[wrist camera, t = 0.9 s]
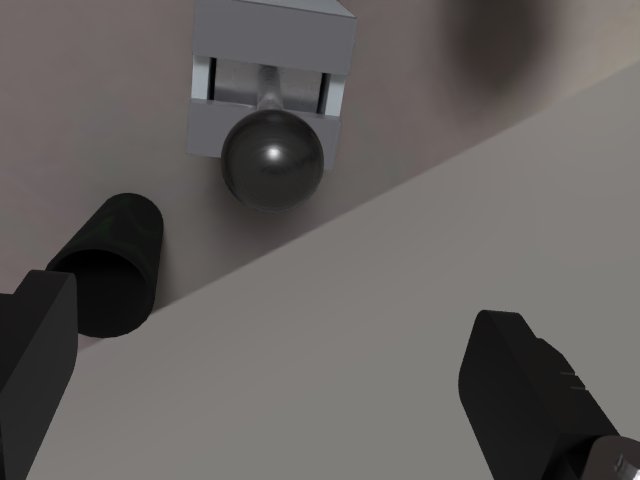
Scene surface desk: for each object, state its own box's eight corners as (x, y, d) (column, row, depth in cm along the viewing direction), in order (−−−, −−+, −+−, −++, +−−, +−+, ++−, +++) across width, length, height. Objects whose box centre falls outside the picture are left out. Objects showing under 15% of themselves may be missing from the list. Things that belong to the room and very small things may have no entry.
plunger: (326, 29, 34) (377, 102, 19) (311, 131, 36) (346, 266, 21) (221, 14, 33) (187, 77, 18) (213, 119, 36) (177, 250, 21)
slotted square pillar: (340, -21, 46) (381, 1, 30) (320, 109, 51) (347, 189, 35) (206, -43, 45) (175, -31, 29) (197, 93, 49) (166, 169, 33)
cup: (137, 276, 56) (108, 356, 45) (67, 223, 53) (18, 296, 42) (193, 221, 54) (176, 291, 43) (123, 163, 51) (86, 223, 41)
